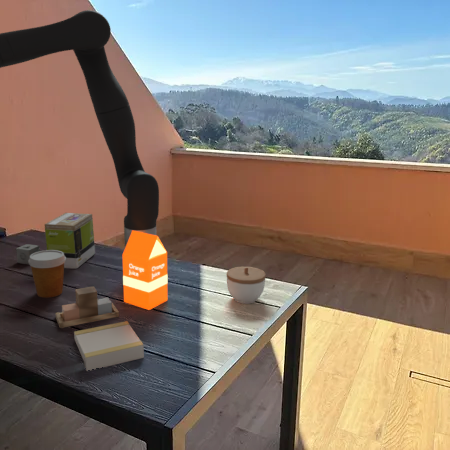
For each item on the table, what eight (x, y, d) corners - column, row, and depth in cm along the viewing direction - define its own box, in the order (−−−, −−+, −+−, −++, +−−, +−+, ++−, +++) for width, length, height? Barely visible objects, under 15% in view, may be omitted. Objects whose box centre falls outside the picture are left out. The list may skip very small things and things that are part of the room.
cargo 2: (108, 309, 120) (107, 297, 119) (111, 315, 117) (111, 302, 116) (94, 312, 118) (94, 299, 117) (98, 317, 115) (97, 305, 114)
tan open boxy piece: (112, 312, 122) (111, 281, 120) (119, 321, 117) (118, 290, 115) (56, 322, 115) (53, 290, 113) (60, 333, 110) (58, 300, 108)
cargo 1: (76, 315, 116) (76, 302, 115) (79, 321, 113) (79, 308, 112) (62, 318, 115) (61, 305, 114) (65, 324, 112) (64, 311, 111)
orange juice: (149, 314, 120) (147, 239, 115) (123, 305, 125) (121, 233, 120) (168, 303, 127) (167, 232, 122) (143, 295, 131) (141, 226, 126)
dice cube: (17, 262, 154) (16, 248, 153) (27, 258, 159) (26, 244, 157) (30, 264, 153) (29, 250, 151) (40, 260, 157) (39, 245, 156)
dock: (127, 332, 111) (127, 320, 110) (143, 357, 101) (143, 344, 100) (74, 344, 105) (74, 331, 104) (86, 371, 95) (85, 357, 94)
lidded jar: (269, 295, 134) (271, 264, 131) (256, 310, 124) (257, 277, 122) (235, 288, 138) (236, 258, 135) (219, 302, 128) (220, 270, 126)
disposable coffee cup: (56, 305, 124) (53, 262, 121) (24, 301, 126) (20, 259, 123) (74, 291, 133) (72, 251, 130) (44, 288, 135) (41, 248, 132)
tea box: (68, 252, 165) (65, 211, 161) (95, 254, 164) (93, 213, 160) (47, 267, 151) (43, 222, 147) (76, 269, 150) (74, 224, 146)
